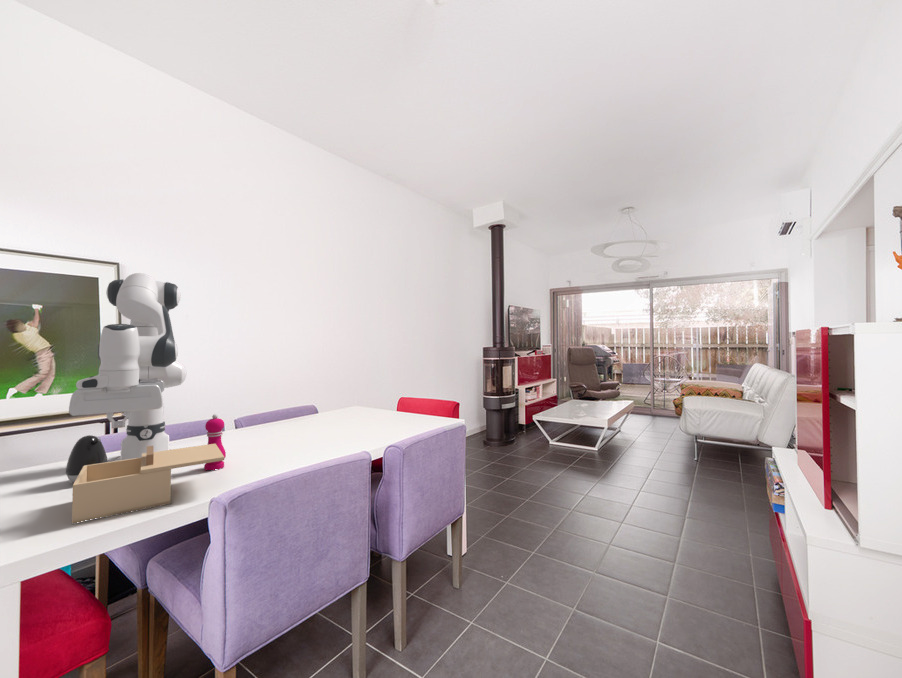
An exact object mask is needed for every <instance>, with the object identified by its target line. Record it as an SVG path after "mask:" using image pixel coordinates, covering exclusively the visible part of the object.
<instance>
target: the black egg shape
mask: <svg viewBox="0 0 902 678" xmlns="http://www.w3.org/2000/svg"><path fill="white" fill-rule="evenodd" d="M106 462H109V460H108V456H107V452H106V449H105V447H104V445H103V443H102V441H101V440H100V438H98V437H97V436H95V435H92V434H91V435H90V434H89V435H84V436H82V437H80V438H79V439H77V441H76V442H75V444H74V446H73V447H72V449H71V451H70V454H69V456H68V459H67V463H66V467H65V475H66V476H67V478H68V480H69V481H70V482H71V483H73V484H74V482H75V480H76V479H77V477H78V475H79V473H80V472H81V470H82V468H83V466H85V465H92V464H99V463H106Z"/></svg>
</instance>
